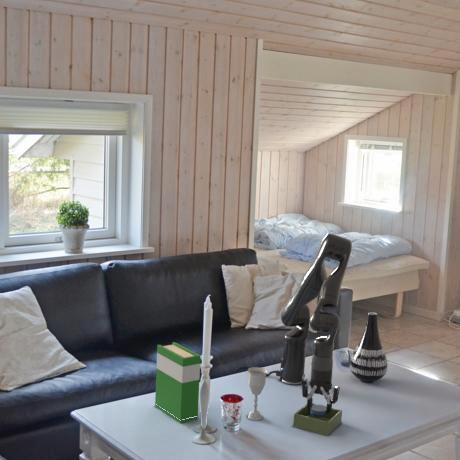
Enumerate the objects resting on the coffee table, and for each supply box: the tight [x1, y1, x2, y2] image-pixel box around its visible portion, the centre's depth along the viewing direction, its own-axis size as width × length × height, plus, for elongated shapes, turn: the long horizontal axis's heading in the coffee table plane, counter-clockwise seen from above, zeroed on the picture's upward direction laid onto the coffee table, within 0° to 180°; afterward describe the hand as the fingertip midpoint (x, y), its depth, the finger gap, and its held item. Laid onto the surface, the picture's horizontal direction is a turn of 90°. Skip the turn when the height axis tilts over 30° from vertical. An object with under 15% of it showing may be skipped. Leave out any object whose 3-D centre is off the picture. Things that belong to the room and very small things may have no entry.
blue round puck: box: [310, 404, 328, 418], centre depth 283 cm, size 6×6×2 cm
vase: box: [349, 311, 389, 384], centre depth 331 cm, size 16×16×30 cm
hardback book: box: [154, 341, 202, 424], centre depth 286 cm, size 18×7×24 cm, turn 37°
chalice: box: [247, 366, 268, 421], centre depth 286 cm, size 7×7×18 cm
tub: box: [292, 402, 343, 436], centre depth 283 cm, size 13×13×5 cm
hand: (318, 410), depth 283 cm, fingers closed on blue round puck, 6 cm apart
